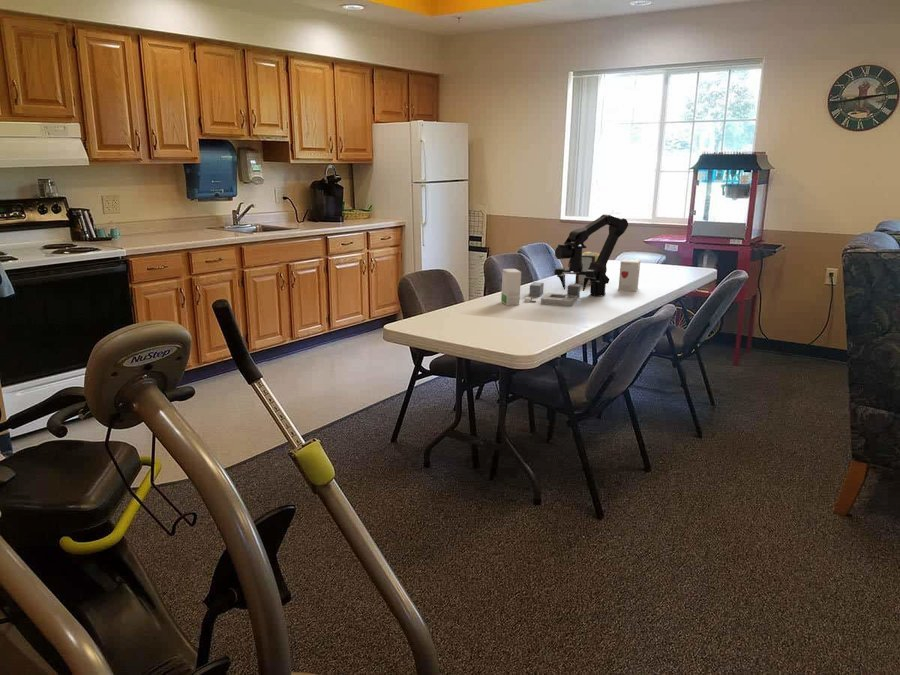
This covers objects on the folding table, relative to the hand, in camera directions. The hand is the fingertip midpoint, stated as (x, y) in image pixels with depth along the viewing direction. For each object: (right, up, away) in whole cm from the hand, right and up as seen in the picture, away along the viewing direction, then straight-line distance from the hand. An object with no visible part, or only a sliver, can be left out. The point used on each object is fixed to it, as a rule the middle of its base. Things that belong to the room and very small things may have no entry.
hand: (573, 290), depth 311 cm
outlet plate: (-8, -6, -10) cm, 14 cm away
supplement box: (+32, +2, +21) cm, 38 cm away
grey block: (0, -3, +1) cm, 4 cm away
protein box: (+16, +7, +39) cm, 43 cm away
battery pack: (-17, -2, +6) cm, 19 cm away
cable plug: (-22, -6, -8) cm, 24 cm away
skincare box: (-32, -7, -13) cm, 35 cm away
